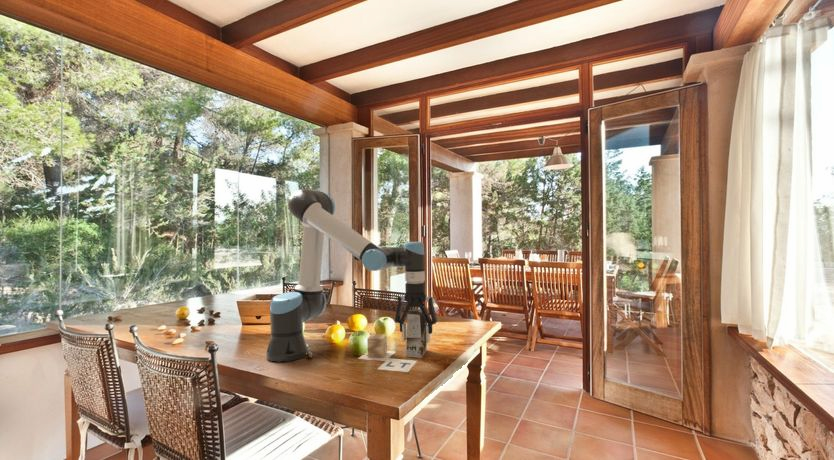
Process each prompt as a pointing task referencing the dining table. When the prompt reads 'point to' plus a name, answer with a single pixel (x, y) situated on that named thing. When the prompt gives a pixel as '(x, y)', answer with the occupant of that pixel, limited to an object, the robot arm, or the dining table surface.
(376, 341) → the oak block
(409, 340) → the coffee box
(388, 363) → the tile
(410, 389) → the dining table surface
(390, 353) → the code tile
